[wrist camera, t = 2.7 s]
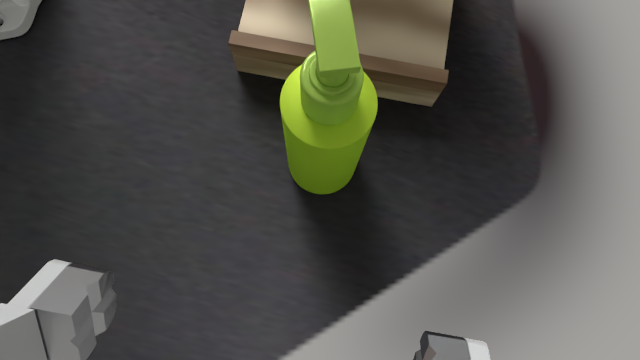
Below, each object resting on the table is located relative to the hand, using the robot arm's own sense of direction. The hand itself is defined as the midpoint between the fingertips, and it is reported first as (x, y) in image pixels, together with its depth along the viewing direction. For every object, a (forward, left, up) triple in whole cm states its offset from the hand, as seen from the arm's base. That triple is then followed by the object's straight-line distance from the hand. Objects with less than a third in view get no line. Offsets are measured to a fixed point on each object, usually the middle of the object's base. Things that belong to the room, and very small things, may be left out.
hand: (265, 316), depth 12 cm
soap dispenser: (+7, +10, -26) cm, 29 cm away
